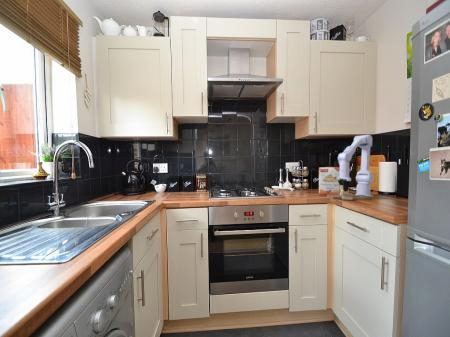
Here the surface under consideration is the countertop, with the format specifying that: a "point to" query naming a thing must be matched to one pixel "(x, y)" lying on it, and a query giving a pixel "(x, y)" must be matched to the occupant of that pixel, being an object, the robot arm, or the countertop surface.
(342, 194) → the gauge
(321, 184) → the cracker box
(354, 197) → the board
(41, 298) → the countertop surface
